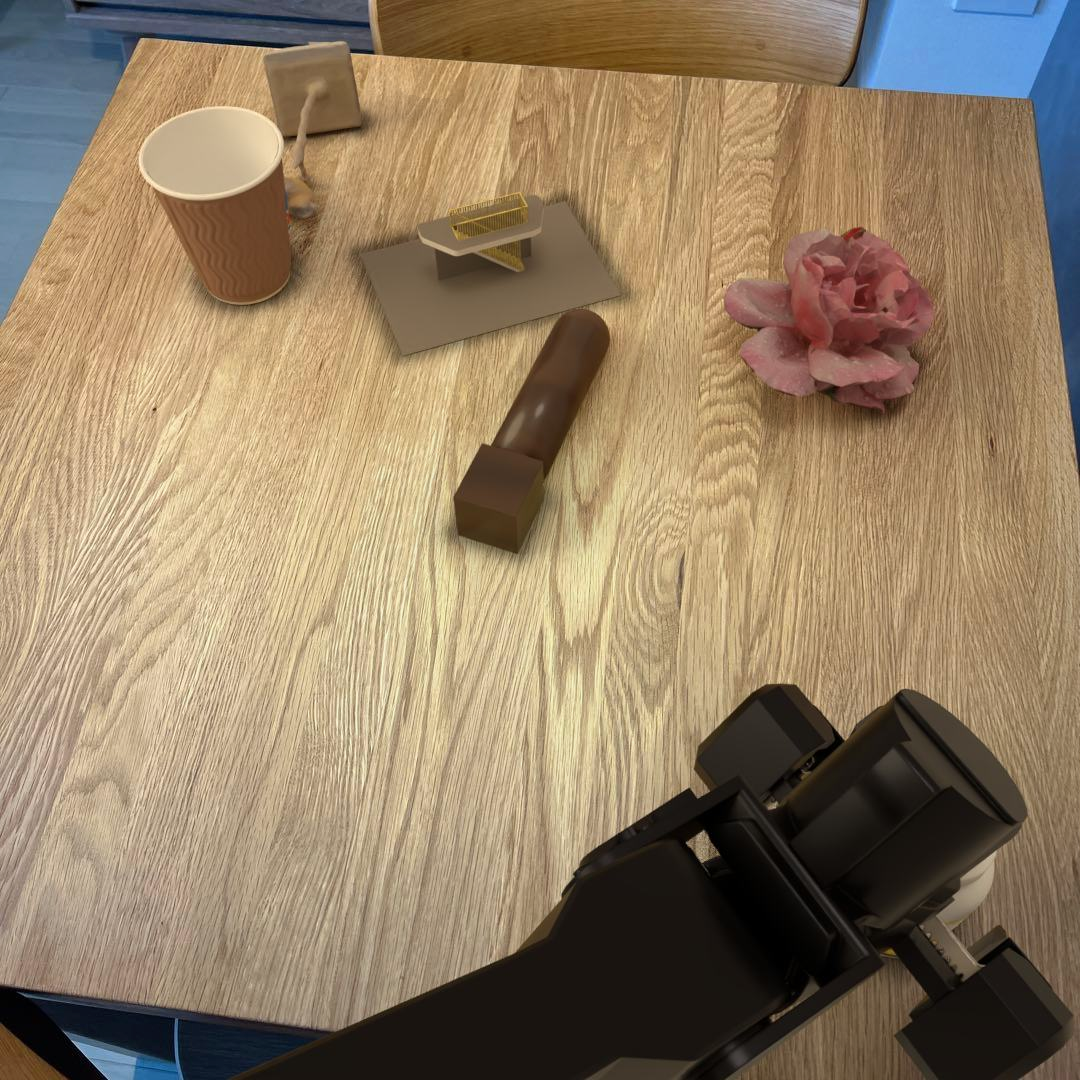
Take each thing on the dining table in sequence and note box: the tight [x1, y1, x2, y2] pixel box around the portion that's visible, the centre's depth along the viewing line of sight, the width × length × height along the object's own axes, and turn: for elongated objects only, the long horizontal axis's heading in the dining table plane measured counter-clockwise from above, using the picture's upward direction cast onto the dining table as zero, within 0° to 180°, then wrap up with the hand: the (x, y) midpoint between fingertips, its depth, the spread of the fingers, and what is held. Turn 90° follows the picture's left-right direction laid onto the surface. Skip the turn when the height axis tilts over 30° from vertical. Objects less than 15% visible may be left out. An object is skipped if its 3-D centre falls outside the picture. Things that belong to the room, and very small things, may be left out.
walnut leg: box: [453, 308, 611, 555], centre depth 80 cm, size 20×4×4 cm, turn 159°
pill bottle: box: [880, 850, 998, 959], centre depth 59 cm, size 6×6×12 cm
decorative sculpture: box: [263, 41, 363, 220], centre depth 96 cm, size 16×10×7 cm, turn 170°
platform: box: [359, 191, 622, 357], centre depth 89 cm, size 12×18×7 cm, turn 111°
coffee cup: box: [138, 105, 292, 306], centre depth 86 cm, size 10×10×12 cm
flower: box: [723, 226, 937, 415], centre depth 82 cm, size 15×15×10 cm
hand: (928, 854), depth 57 cm, fingers open, 9 cm apart
